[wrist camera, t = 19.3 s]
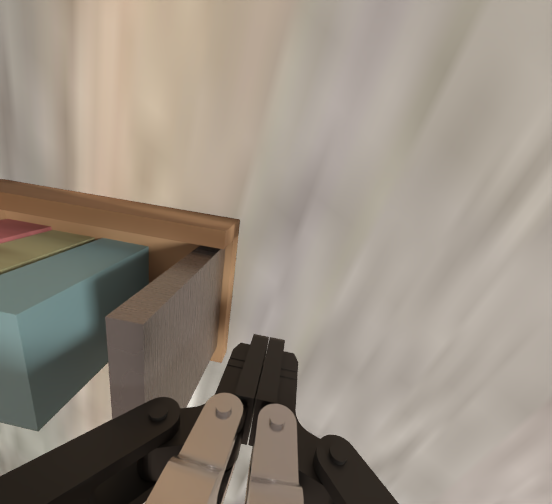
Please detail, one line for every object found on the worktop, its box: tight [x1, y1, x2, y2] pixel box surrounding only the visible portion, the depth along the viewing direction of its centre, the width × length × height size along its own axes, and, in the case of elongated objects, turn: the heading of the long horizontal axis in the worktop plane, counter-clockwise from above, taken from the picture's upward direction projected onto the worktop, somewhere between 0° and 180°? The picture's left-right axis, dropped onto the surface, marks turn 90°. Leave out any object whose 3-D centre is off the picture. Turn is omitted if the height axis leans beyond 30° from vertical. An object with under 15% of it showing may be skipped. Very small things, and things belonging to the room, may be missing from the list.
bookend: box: [105, 245, 225, 419], centre depth 13 cm, size 7×1×8 cm, turn 172°
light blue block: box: [0, 238, 149, 431], centre depth 14 cm, size 6×3×8 cm, turn 171°
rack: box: [0, 179, 240, 363], centre depth 14 cm, size 10×16×10 cm, turn 82°
